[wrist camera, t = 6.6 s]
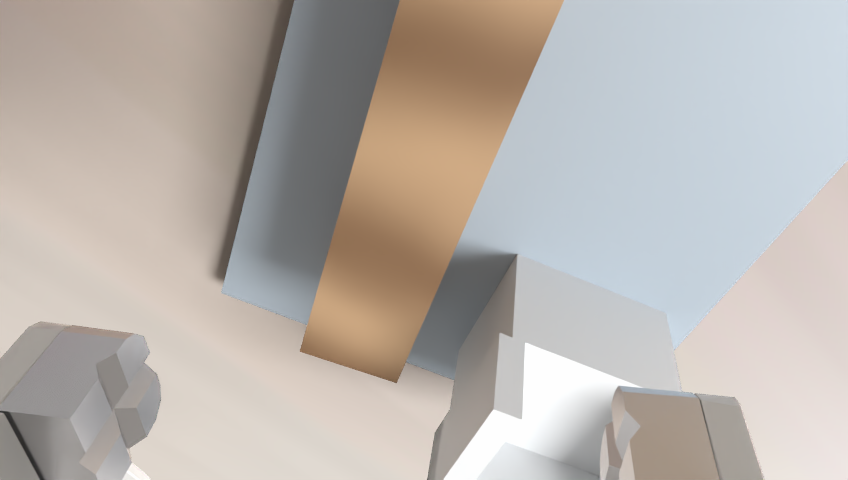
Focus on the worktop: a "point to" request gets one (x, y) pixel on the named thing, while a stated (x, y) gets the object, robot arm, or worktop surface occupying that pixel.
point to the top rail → (420, 171)
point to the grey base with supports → (566, 204)
